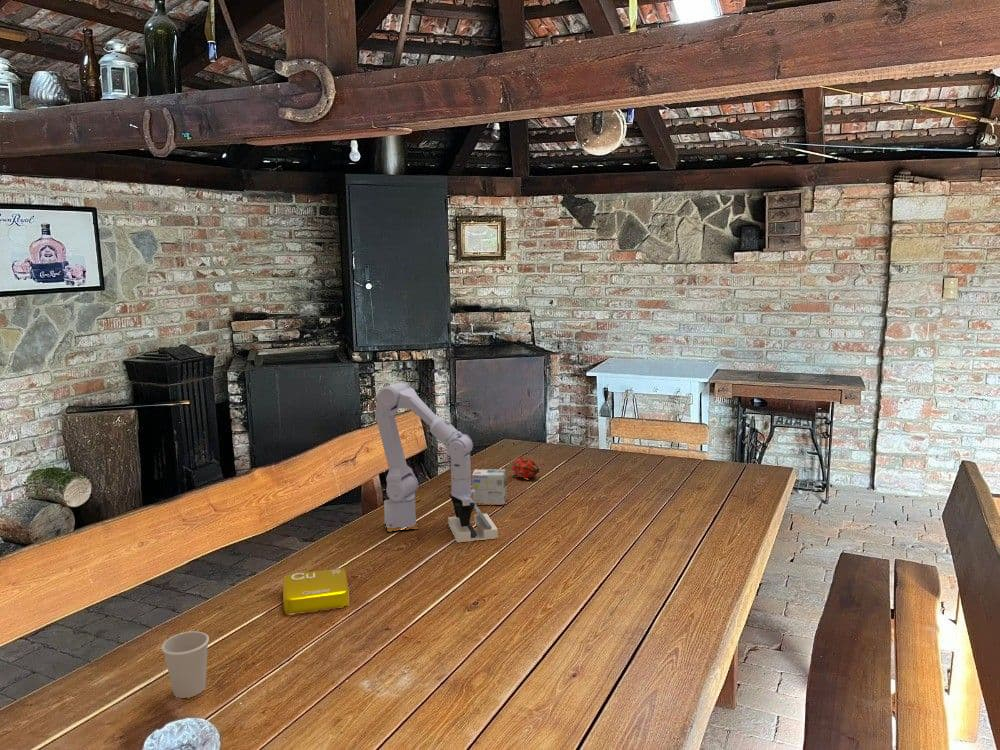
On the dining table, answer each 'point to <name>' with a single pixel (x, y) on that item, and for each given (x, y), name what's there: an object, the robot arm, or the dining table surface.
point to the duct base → (482, 533)
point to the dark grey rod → (472, 531)
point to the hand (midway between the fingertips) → (462, 521)
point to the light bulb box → (489, 486)
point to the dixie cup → (187, 662)
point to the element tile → (315, 590)
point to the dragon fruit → (524, 468)
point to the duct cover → (481, 514)
